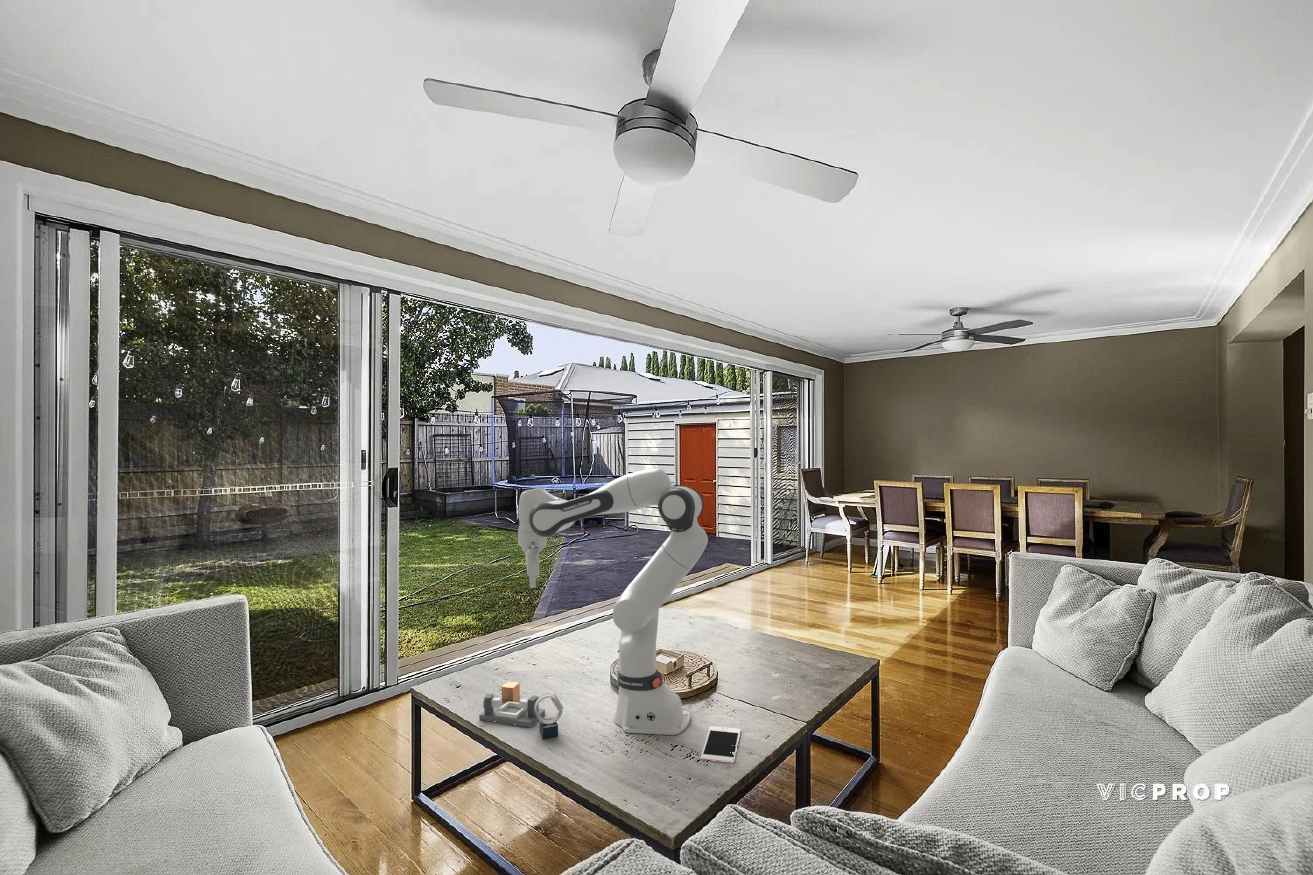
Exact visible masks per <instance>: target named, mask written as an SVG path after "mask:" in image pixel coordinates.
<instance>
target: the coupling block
mask: <svg viewBox="0 0 1313 875" xmlns="http://www.w3.org/2000/svg"><path fill="white" fill-rule="evenodd" d="M520 684H521V683H520V682H514V681H507V682H506V683H505V684H503V685H502V686H501V703H507V702H508V701H510V702H517V703H519V701H520V700H521V697H520V696H521V695H520V694H521V693H520V691H521V689H520Z"/></svg>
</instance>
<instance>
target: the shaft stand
mask: <svg viewBox="0 0 1313 875" xmlns="http://www.w3.org/2000/svg"><path fill="white" fill-rule="evenodd" d="M538 698H539V696H536V695H531V696H530V697H529V698H522V699H520V701H519V703H517V702H510V701H508V702H507V703H502V697H494V693H486V694H485V696H484V697H483V700H482V707H483V709H484V710H483V711H482V712H481V713H479V714H478V715H479V716H478V717H479V718H478V719H483V720H482V721H484V720H489V721H488V722H490V721H496V722H495V723H497V722H501V723H500V724H503V723H506V724H505V725H510V724H516V725H519V726H518V727H522V726H524V727H523V728H529V727H530V728H532V727H533V726H534V725H535V724H536V723H537V722H538V721H539V720H538V718H537V716H536V713H535V710H534V709H535V708H534V706H535V702H536V701H537V699H538ZM539 706H540V703H539V704H538V706H537V709H538V713H539V715H540V716H541V717H542V718H543V717H544V716H545V715H546V709H545V708H540V707H539ZM516 725H515V726H516Z"/></svg>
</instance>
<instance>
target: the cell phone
mask: <svg viewBox="0 0 1313 875" xmlns="http://www.w3.org/2000/svg"><path fill="white" fill-rule="evenodd" d="M740 732H741V733H742V730H741V729H740V728H734V727H725V726H716V725H715V726H714V725H710V726H709V728H708V732H707V734H706V737H705V742H704V745H703V749H702V751H701V754H700V760H701V759H702V760H701V761H705V760H716V761H729V762H730V761H733V760H732V759H735V755H733V754H732V752H737V753H738V749H737V746H735V745H738V746H739V744H738V742H739V743H740V739H739V738H741V734H740ZM732 745H733V746H732ZM730 752H731V753H730ZM735 760H736V759H735Z"/></svg>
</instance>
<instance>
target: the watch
mask: <svg viewBox="0 0 1313 875" xmlns="http://www.w3.org/2000/svg"><path fill="white" fill-rule="evenodd" d="M549 698H550V700H551V701H552V704H553V705H554V706H555V708H556V710H557V711H558V712H557V715H555V717H547V718H543V716H542V717H541V716H540V715H539V713H538V709H537V706H538V704H539V705H540V703H541V702H542V701H543V700H545V699H549ZM534 708H535V709H534V710H535V713H536V716H537V718H538V721H539V726H538V728H539V734H540V736H541V739H542V740H548V739H553V738H559V724H558V721H559V720H560V718H561V717H562V715H563V710H564V706H563V705H562V702H561V701H560V699H559V698H558V696H557V695H556V694H555V693H551V692H547V693H544V694H541V695H540V696H538V699H537V701H536V702H535V706H534Z"/></svg>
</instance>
